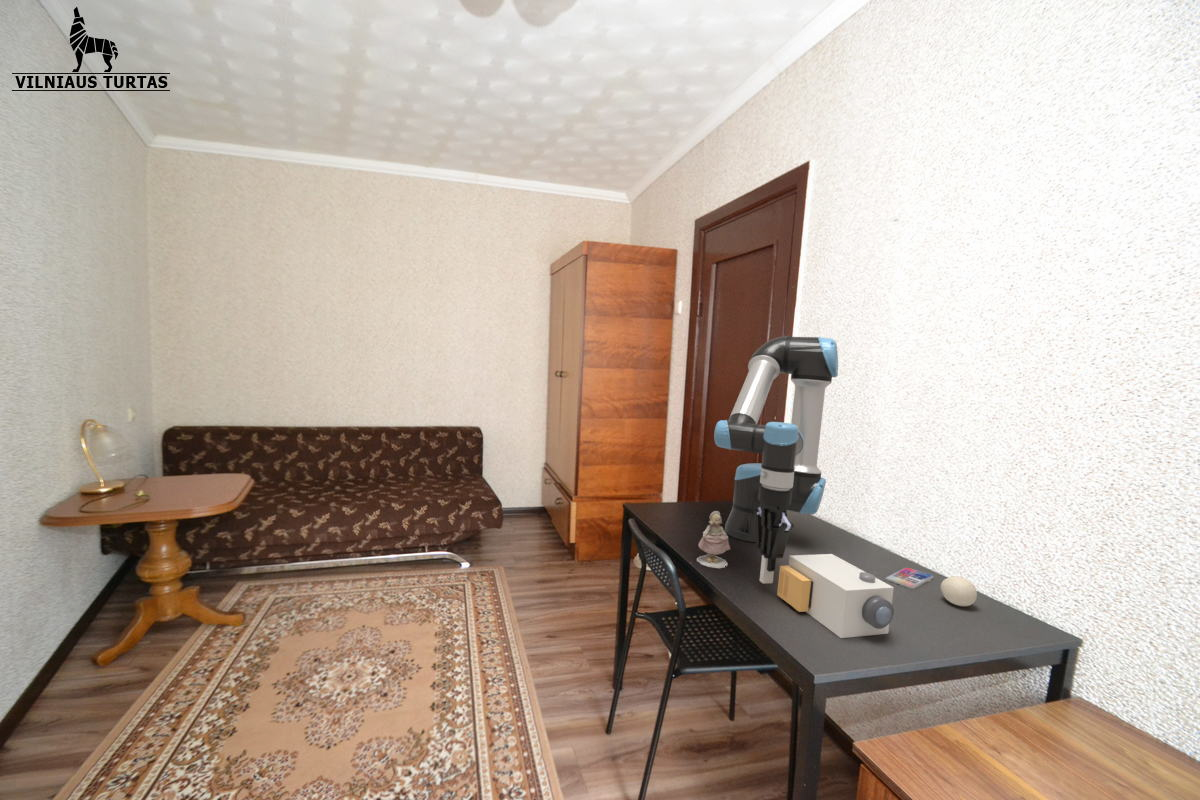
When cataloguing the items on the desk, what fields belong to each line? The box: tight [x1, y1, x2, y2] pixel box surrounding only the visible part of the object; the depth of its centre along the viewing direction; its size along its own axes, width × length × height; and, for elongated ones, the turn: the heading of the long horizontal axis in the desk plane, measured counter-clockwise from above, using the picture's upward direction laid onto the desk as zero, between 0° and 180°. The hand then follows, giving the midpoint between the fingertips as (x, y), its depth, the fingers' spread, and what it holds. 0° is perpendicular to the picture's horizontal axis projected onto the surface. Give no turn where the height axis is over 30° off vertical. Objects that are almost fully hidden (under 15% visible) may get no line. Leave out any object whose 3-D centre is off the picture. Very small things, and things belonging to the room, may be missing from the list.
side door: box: [776, 565, 811, 613], centre depth 113 cm, size 8×2×7 cm, turn 16°
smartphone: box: [884, 567, 935, 590], centre depth 134 cm, size 7×1×15 cm
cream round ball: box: [940, 576, 978, 607], centre depth 120 cm, size 7×7×7 cm
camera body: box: [788, 553, 895, 639], centre depth 109 cm, size 21×12×11 cm, turn 16°
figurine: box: [689, 510, 731, 569], centre depth 136 cm, size 11×10×15 cm
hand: (766, 581), depth 120 cm, fingers closed
